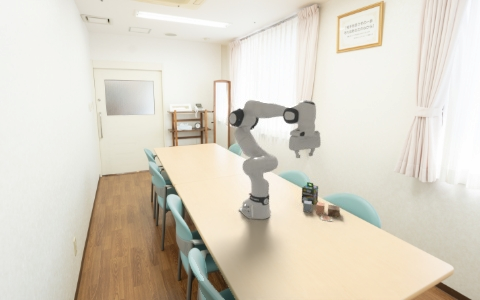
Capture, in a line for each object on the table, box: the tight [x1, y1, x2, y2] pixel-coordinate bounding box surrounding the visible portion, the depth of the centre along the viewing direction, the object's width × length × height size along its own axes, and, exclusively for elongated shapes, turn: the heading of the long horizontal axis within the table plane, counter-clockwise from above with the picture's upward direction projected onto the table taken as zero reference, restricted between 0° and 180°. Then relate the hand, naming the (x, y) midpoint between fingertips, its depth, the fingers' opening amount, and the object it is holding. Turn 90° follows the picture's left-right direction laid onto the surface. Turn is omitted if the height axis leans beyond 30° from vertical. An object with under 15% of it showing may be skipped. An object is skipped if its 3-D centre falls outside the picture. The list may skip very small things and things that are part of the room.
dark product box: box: [301, 181, 319, 205], centre depth 192 cm, size 9×9×15 cm
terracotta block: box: [315, 201, 326, 216], centre depth 175 cm, size 5×5×6 cm
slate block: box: [302, 200, 313, 213], centre depth 178 cm, size 5×5×6 cm
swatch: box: [320, 214, 333, 223], centre depth 167 cm, size 7×6×1 cm
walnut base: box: [327, 204, 341, 218], centre depth 172 cm, size 7×7×5 cm
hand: (304, 156), depth 143 cm, fingers open, 8 cm apart
